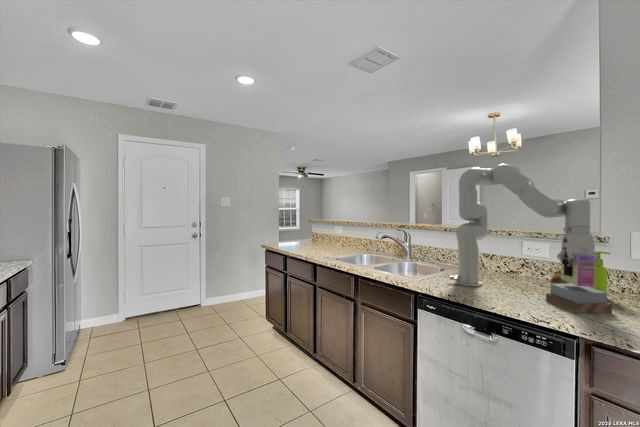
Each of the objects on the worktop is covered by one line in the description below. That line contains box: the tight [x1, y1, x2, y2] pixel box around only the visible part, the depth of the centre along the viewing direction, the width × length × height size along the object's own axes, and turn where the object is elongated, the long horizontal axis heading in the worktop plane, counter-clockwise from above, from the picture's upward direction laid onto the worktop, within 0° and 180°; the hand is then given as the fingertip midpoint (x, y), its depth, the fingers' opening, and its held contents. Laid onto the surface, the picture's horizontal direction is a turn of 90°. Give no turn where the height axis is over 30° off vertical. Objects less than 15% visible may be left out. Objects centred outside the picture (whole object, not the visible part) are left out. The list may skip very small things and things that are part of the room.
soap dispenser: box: [587, 250, 612, 294], centre depth 128 cm, size 6×7×20 cm
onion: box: [549, 270, 571, 285], centre depth 145 cm, size 8×8×8 cm
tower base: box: [545, 292, 613, 315], centre depth 117 cm, size 13×15×4 cm
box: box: [560, 255, 595, 287], centre depth 117 cm, size 10×6×12 cm, turn 169°
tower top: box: [550, 283, 608, 304], centre depth 117 cm, size 11×13×4 cm
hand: (576, 274), depth 117 cm, fingers closed on box, 6 cm apart
